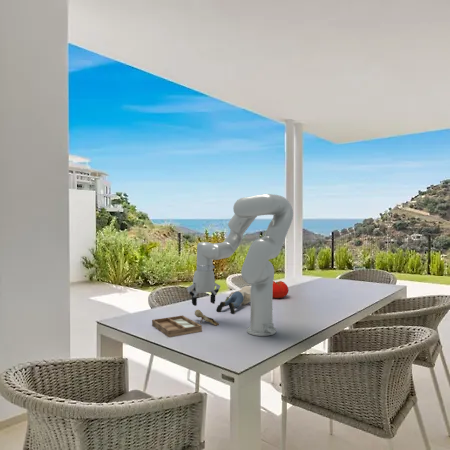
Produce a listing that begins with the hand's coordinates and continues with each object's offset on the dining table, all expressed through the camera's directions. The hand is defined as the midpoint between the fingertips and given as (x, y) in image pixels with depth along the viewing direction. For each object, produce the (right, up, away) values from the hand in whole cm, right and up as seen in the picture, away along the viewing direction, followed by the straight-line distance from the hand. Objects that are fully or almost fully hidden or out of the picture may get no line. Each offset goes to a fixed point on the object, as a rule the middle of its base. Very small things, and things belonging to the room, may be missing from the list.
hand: (203, 304), depth 180 cm
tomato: (+42, -8, +57) cm, 71 cm away
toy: (+18, -9, +31) cm, 36 cm away
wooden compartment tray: (-12, -9, -9) cm, 18 cm away
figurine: (+1, -9, 0) cm, 9 cm away
